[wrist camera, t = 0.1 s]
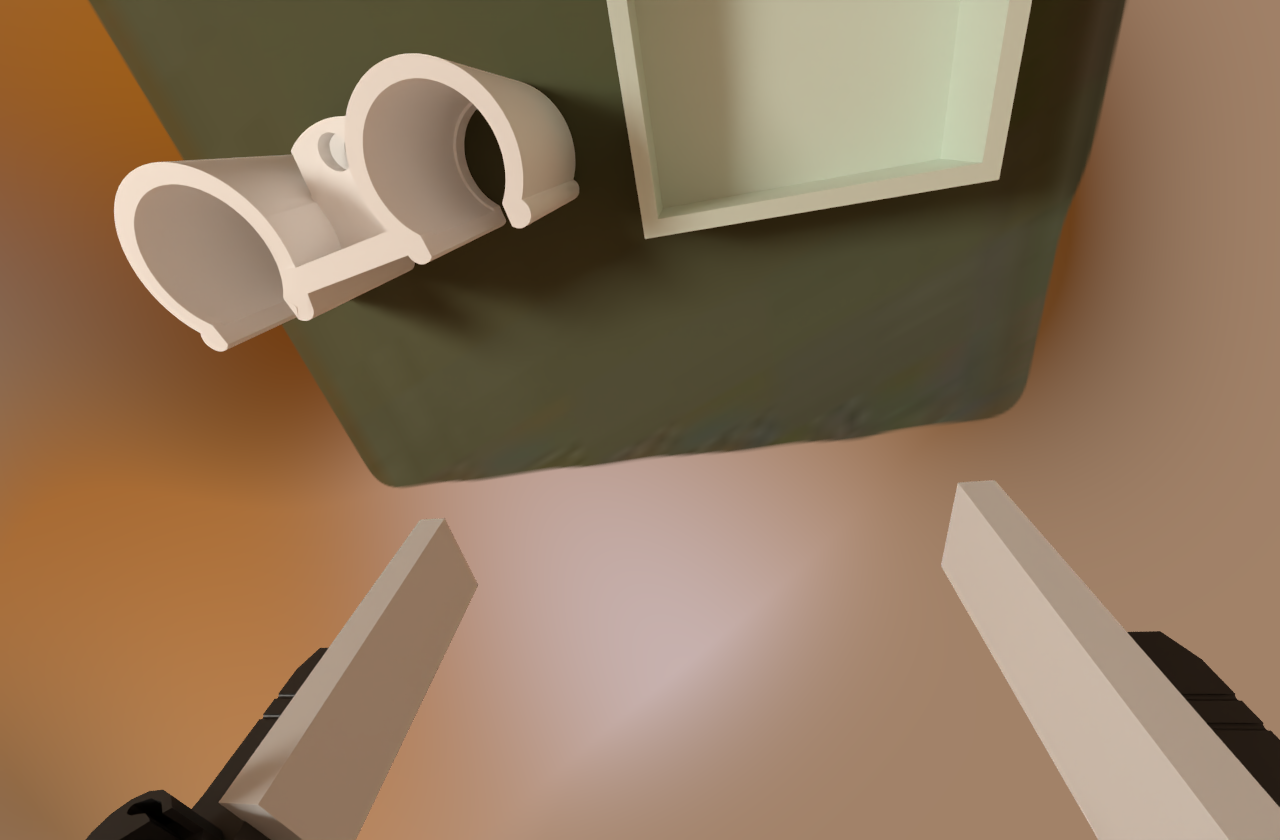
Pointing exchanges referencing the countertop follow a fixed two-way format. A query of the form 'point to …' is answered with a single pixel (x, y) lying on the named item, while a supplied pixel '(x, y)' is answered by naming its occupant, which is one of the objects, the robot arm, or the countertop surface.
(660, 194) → the tub
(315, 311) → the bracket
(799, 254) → the countertop surface
